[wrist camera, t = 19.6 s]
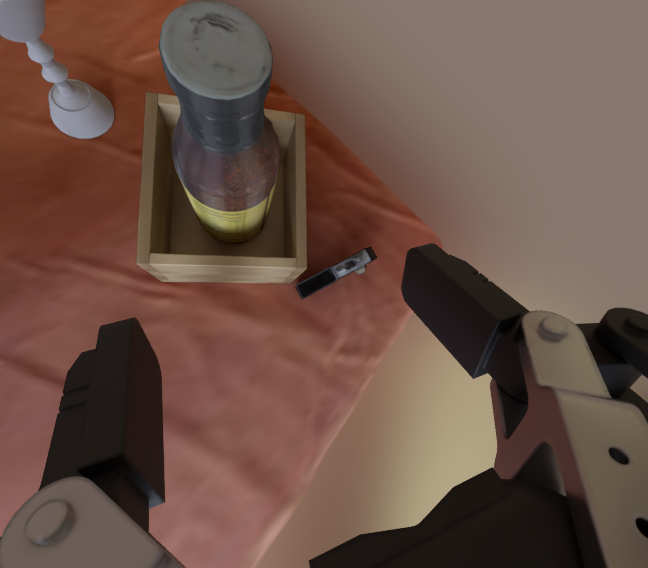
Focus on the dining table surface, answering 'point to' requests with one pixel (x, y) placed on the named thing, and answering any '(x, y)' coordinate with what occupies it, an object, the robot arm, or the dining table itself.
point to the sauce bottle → (222, 116)
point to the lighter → (336, 272)
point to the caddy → (187, 233)
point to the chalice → (56, 73)
